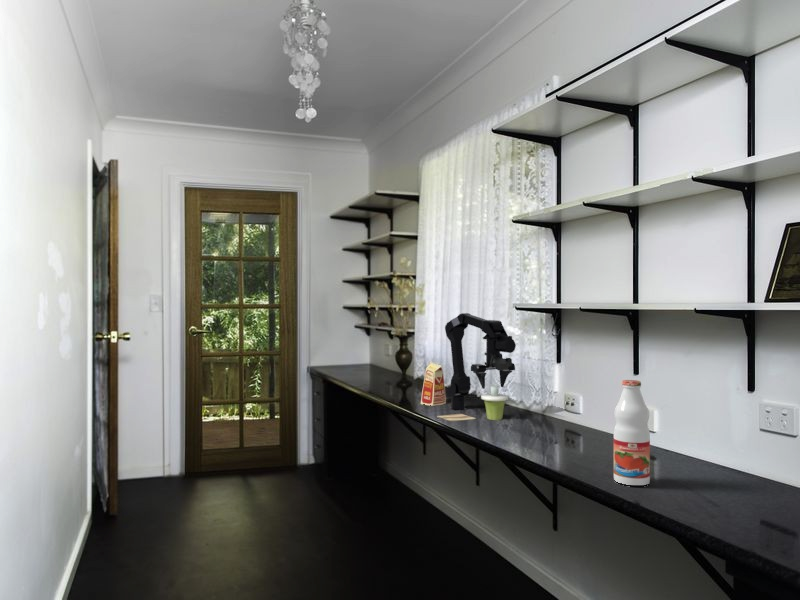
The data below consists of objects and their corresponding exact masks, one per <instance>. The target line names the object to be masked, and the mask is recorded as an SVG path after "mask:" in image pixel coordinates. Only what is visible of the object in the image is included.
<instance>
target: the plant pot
mask: <svg viewBox="0 0 800 600" xmlns="http://www.w3.org/2000/svg"><path fill="white" fill-rule="evenodd" d="M483 401H484V406H485V410H486V411H485V412H486V419H488V420H493V421H498V420H499V421H500V420H502V419H503V417H504V416H503V415H504V408H505V404H506V401H507V400H505V401H486V400H483Z"/></svg>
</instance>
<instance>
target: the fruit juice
mask: <svg viewBox="0 0 800 600" xmlns="http://www.w3.org/2000/svg"><path fill="white" fill-rule="evenodd" d="M621 387H622V391H621V394H620V398H619V400H618V401H617V404H616V406H615V407H614V409H613V410H614V411H613V414H614V415H613V416H614V420H615V424H614V427H613V481H614V480H615V481H616V482H618V483H622V484H626V485H646V484H650V482H651V481H650V480H651V435H650V433H651V432H650V428H649V426H648V424H649V423H648V422H649V420H650V411H649V408H648V406H647V405H646V403H645V400H644V398H643V394H642V392H641V388H642V382H641V381H640V380H634V379H624V380H622V382H621ZM615 481H614V482H615ZM616 482H615V483H616ZM618 483H617V484H618Z"/></svg>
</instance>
